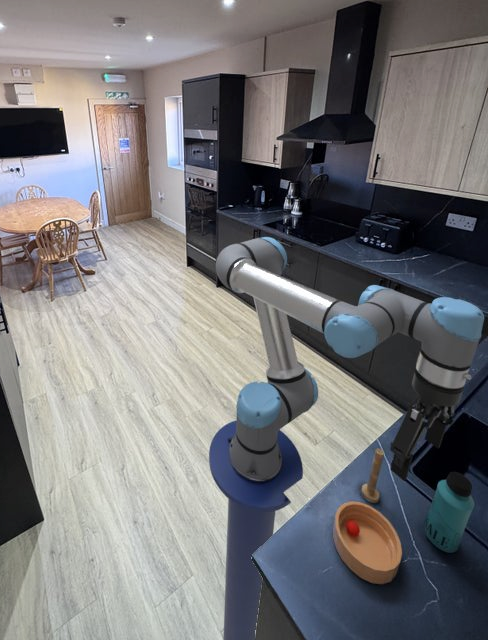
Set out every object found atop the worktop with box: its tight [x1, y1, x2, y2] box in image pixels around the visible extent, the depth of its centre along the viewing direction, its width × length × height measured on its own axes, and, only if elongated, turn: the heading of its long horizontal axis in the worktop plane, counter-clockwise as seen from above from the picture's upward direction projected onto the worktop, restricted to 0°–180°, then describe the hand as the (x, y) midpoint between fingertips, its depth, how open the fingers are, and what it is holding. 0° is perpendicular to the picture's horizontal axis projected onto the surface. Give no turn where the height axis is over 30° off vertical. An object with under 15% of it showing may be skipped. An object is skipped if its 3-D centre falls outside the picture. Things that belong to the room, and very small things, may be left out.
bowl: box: [332, 500, 403, 585], centre depth 72 cm, size 13×13×5 cm
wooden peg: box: [360, 447, 385, 504], centre depth 81 cm, size 4×4×15 cm
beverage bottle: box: [424, 471, 475, 554], centre depth 71 cm, size 6×7×20 cm
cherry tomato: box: [346, 521, 360, 537], centre depth 75 cm, size 3×3×3 cm
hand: (415, 458), depth 68 cm, fingers open, 13 cm apart
